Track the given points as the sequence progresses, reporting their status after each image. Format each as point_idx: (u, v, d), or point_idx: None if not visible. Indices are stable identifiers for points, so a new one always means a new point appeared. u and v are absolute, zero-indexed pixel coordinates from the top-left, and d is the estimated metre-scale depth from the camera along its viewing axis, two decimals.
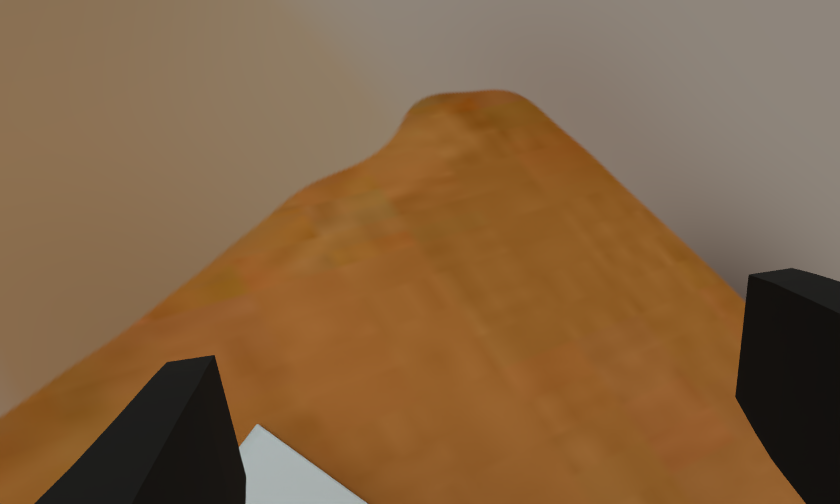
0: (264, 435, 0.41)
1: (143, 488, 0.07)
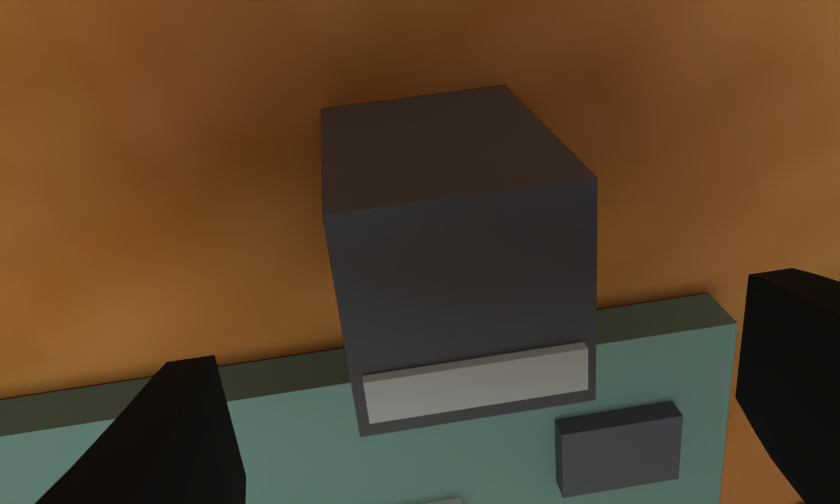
0: None
1: (143, 488, 0.07)
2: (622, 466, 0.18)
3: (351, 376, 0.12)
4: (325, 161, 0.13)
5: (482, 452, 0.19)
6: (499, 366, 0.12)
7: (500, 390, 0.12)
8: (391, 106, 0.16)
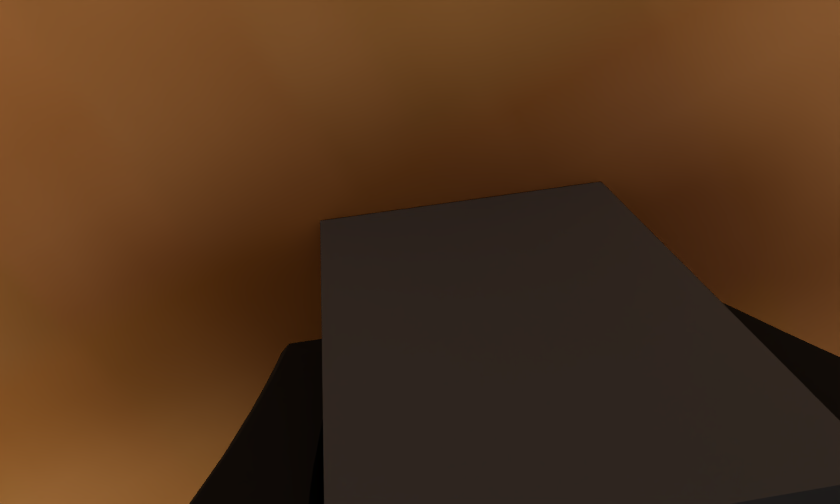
0: None
1: (314, 460, 0.07)
2: None
3: None
4: (328, 368, 0.07)
5: None
6: None
7: None
8: (430, 222, 0.10)
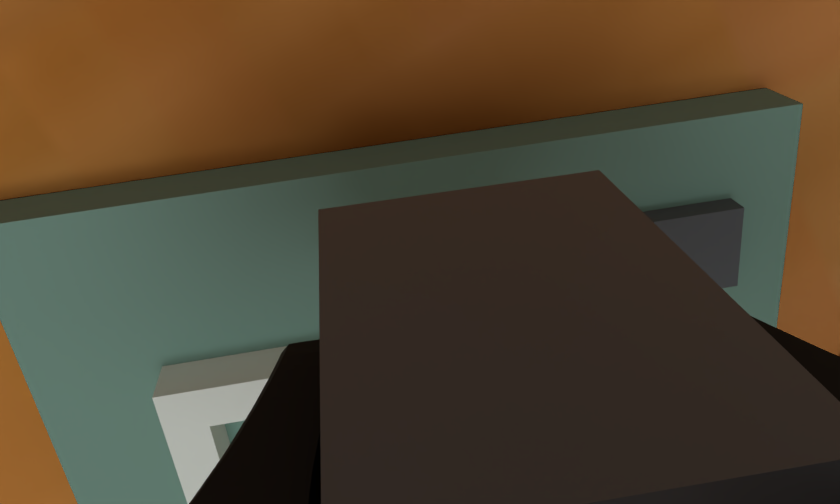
0: None
1: (314, 460, 0.07)
2: None
3: None
4: (326, 351, 0.07)
5: None
6: None
7: None
8: (428, 210, 0.10)
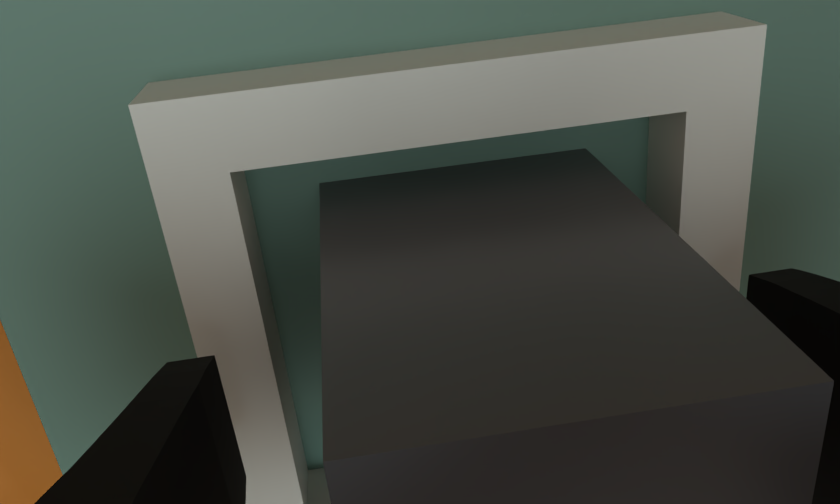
0: None
1: (143, 488, 0.07)
2: None
3: None
4: (326, 303, 0.08)
5: None
6: None
7: None
8: (423, 184, 0.10)
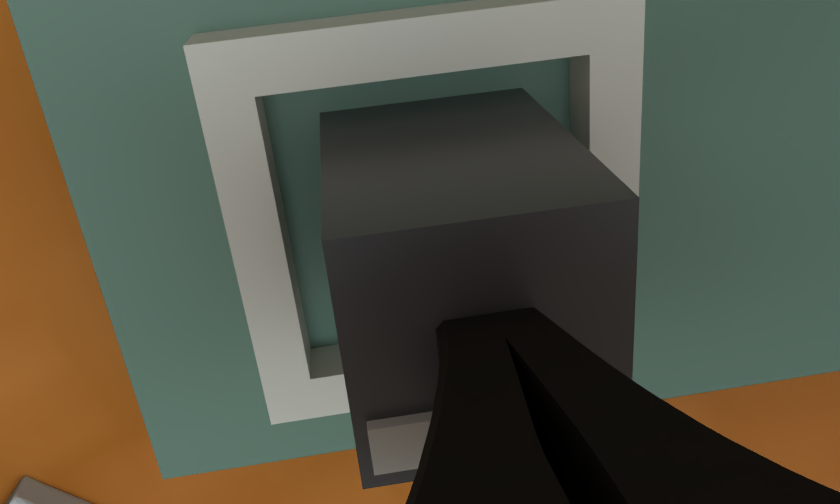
0: None
1: None
2: None
3: (353, 422, 0.10)
4: (324, 174, 0.11)
5: None
6: None
7: None
8: (397, 111, 0.14)
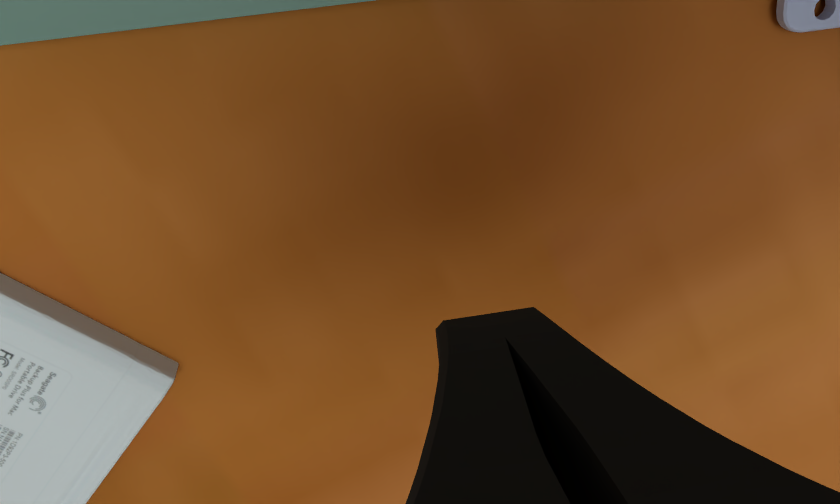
0: None
1: None
2: None
3: None
4: None
5: None
6: None
7: None
8: None
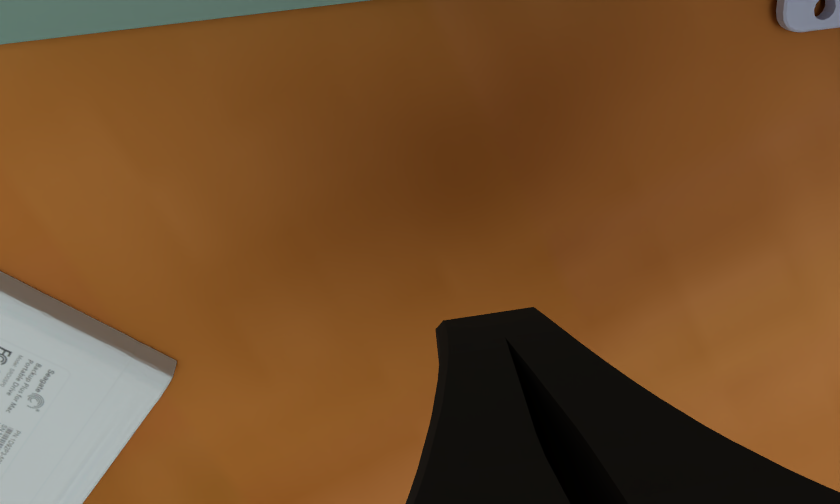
0: None
1: None
2: None
3: None
4: None
5: None
6: None
7: None
8: None
